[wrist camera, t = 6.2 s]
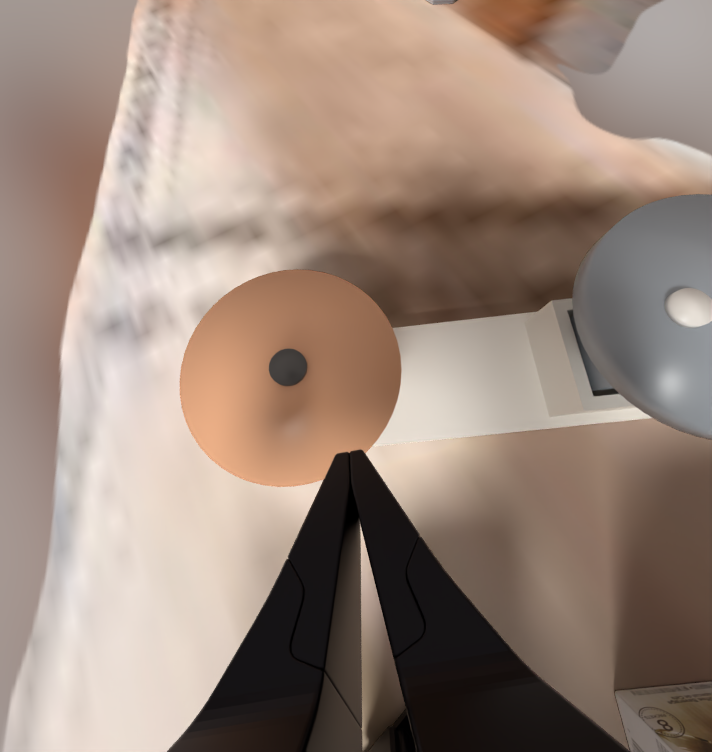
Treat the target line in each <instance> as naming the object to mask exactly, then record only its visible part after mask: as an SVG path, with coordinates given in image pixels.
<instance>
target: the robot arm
mask: <svg viewBox="0 0 712 752" xmlns="http://www.w3.org/2000/svg"><path fill="white" fill-rule="evenodd" d="M360 524H361V528H362V532H363V536H364V540H365V544H366V548H367V552H368V556H369V560H370V564H371V568H372V572H373V576H374V580H375V584H376V589H377V593H378V597H379V601H380V605H381V609H382V613H383V617H384V621H385V625H386V629H387V633H388V637H389V641H390V645H391V649H392V653H393V657H394V661H395V666H396V670H397V674H398V678H399V682H400V686H401V690H402V694H403V698H404V702H405V706H406V710H405V711H404V712H403V713H402V715H401V716H400V717H399V718H398V720H397V721H396V722H395V723H394V725H393V726H390V727H388V728H387V729H386V730H385V732H384V733H383V734H382V735H381V736H380V738H379V739H378V740H377V741H376V743H375V744H374V745H373V746H372V748H371V749H370V750H369V751H368V752H630V751H629V750H628V749H626V748H625V747H624V746H623V745H622V744H620V743H619V742H618V741H617V740H615V739H614V738H613V737H612V736H611V735H609V734H608V733H607V732H606V731H605V730H603V729H602V728H601V727H600V726H598V725H597V724H596V723H595V722H594V721H592V720H591V719H590V718H589V717H587V716H586V715H585V714H584V713H583V712H581V711H580V710H579V709H578V708H577V707H575V706H574V705H573V704H572V703H570V702H569V701H568V700H567V699H566V698H564V697H563V696H562V695H561V694H559V693H558V692H557V691H556V690H555V689H553V688H552V687H551V686H550V685H549V684H547V683H546V682H545V681H544V680H542V679H541V678H540V677H539V676H538V675H537V674H536V673H535V672H534V671H532V670H531V669H530V668H529V667H528V666H527V665H526V664H525V663H524V662H523V661H522V660H521V659H520V657H519V656H518V655H517V654H516V653H515V652H514V651H513V650H512V649H511V648H510V647H509V645H508V644H507V643H506V642H505V641H504V640H503V639H502V638H501V636H500V635H499V634H498V633H497V632H496V630H495V629H494V628H493V627H492V626H491V625H490V623H489V622H488V621H487V620H486V619H485V618H484V616H483V615H482V614H481V613H480V612H479V611H478V609H477V608H476V607H475V606H474V605H473V604H472V602H471V601H470V600H469V599H468V598H467V596H466V595H465V594H464V593H463V592H462V591H461V589H460V588H459V587H458V586H457V585H456V583H455V582H454V581H453V580H452V578H451V577H450V576H449V575H448V573H447V572H446V571H445V570H444V568H443V567H442V566H441V564H440V563H439V561H438V560H437V559H436V557H435V556H434V554H433V553H432V552H431V550H430V549H429V547H428V546H427V544H426V543H425V541H424V540H423V539H422V537H420V534H419V533H418V531H417V530H416V528H415V527H414V525H413V524H412V522H411V521H410V519H409V518H408V516H407V515H406V513H405V512H404V511H403V509H402V508H401V506H400V505H399V503H398V502H397V500H396V499H395V497H394V496H393V494H392V493H391V491H390V490H389V488H388V487H387V485H386V484H385V482H384V481H383V479H382V478H381V476H380V475H379V473H378V472H377V470H376V469H375V467H374V466H373V464H372V463H371V461H370V460H369V458H368V457H367V455H366V454H365V453H364V451H363V450H361V449H360V450H354V451H350V453H349V452H342V453H337V454H336V455H335V457H334V459H333V461H332V463H331V465H330V467H329V469H328V472H327V474H326V476H325V478H324V480H323V482H322V484H321V487H320V489H319V491H318V493H317V495H316V497H315V499H314V502H313V504H312V506H311V508H310V510H309V512H308V514H307V516H306V519H305V521H304V523H303V525H302V527H301V529H300V531H299V534H298V536H297V538H296V540H295V542H294V544H293V546H292V549H291V551H290V553H289V555H288V559H287V560H286V561H285V563H284V565H283V567H282V570H281V572H280V574H279V576H278V578H277V580H276V582H275V584H274V586H273V588H272V590H271V592H270V594H269V596H268V598H267V600H266V601H265V603H264V605H263V607H262V609H261V610H260V612H259V614H258V616H257V618H256V619H255V621H254V623H253V625H252V626H251V628H250V630H249V631H248V633H247V635H246V637H245V638H244V640H243V642H242V643H241V645H240V647H239V648H238V650H237V652H236V654H235V655H234V657H233V659H232V660H231V662H230V664H229V666H228V667H227V669H226V671H225V672H224V674H223V676H222V678H221V679H220V681H219V683H218V684H217V686H216V688H215V689H214V691H213V693H212V694H211V696H210V698H209V699H208V701H207V702H206V704H205V705H204V707H203V708H202V710H201V711H200V713H199V714H198V715H197V717H196V718H195V719H194V721H193V722H192V723H191V725H190V726H189V727H188V728H187V730H186V731H185V732H184V733H183V734H182V736H181V737H180V738H179V739H178V740H177V741H176V742H175V743H174V744H173V745H172V747H171V748H170V749H169V750H168V751H167V752H362V729H361V728H362V660H361V541H360Z"/></svg>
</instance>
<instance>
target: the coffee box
mask: <svg viewBox="0 0 712 752" xmlns="http://www.w3.org/2000/svg"><path fill="white" fill-rule="evenodd" d="M615 696H616V700H617V704H618V707H619V711H620V715H621V718H622V722H623V726H624V730H625V733H626V737H627V741H628V744H629V748H630V752H712V681H711V682H700V683H690V684H680V685H670V686H660V687H650V688H639V689H630V690H619V691H616V692H615Z"/></svg>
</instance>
